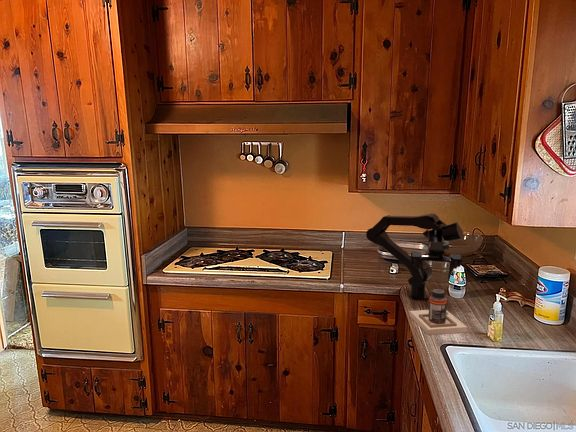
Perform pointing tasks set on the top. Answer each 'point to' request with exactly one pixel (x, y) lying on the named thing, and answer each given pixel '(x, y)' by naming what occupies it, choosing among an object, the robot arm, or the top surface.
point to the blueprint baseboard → (433, 329)
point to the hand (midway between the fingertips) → (435, 278)
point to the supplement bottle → (437, 307)
